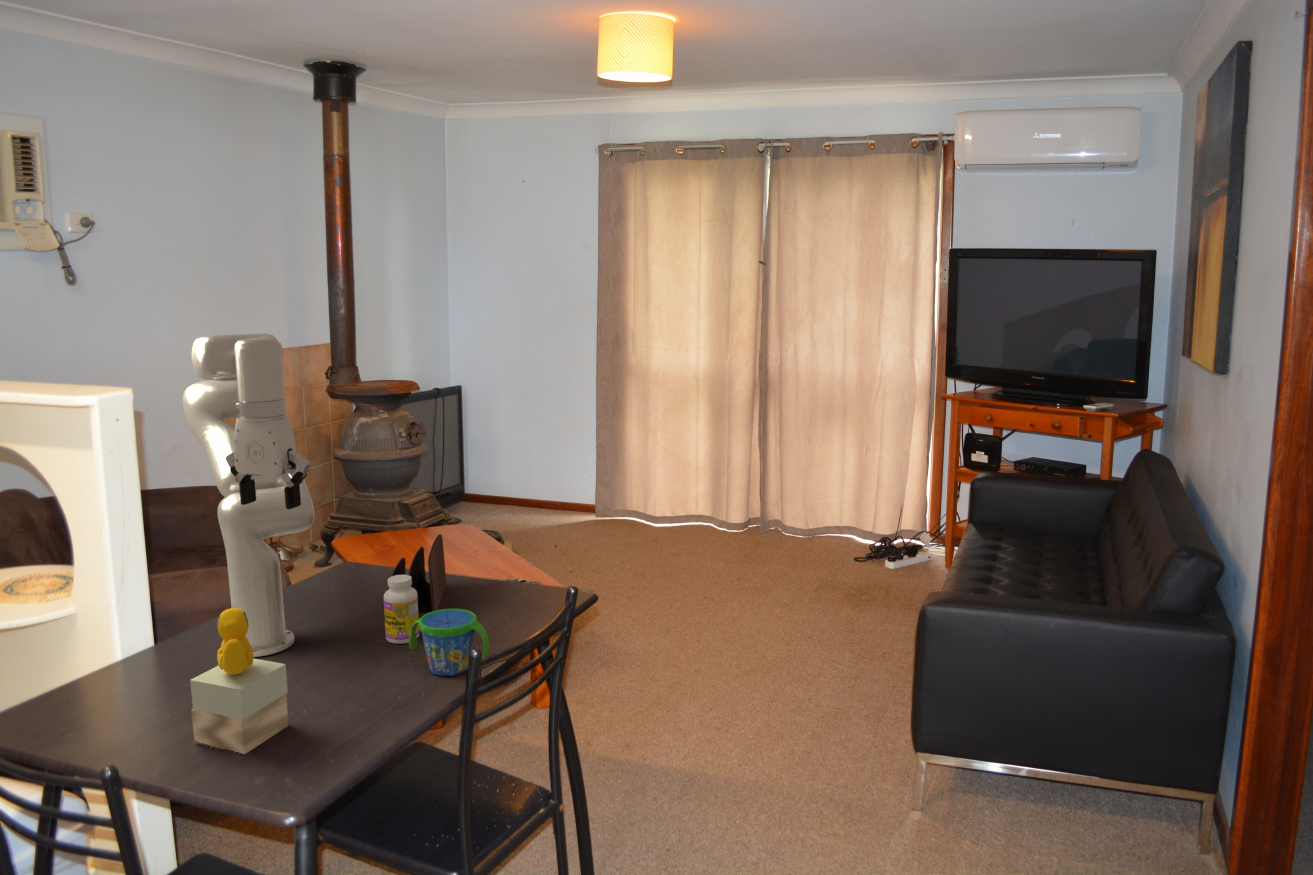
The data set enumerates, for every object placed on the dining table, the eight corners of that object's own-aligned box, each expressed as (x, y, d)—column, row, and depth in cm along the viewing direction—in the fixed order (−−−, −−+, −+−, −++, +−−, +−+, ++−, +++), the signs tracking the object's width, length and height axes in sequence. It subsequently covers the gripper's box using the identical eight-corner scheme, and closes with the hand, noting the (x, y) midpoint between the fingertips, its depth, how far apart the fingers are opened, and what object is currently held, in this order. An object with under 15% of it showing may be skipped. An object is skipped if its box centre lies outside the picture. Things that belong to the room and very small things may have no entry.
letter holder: (446, 587, 228) (443, 529, 225) (435, 618, 208) (432, 555, 206) (403, 588, 227) (400, 530, 224) (388, 619, 208) (384, 556, 205)
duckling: (219, 660, 160) (214, 602, 159) (254, 655, 162) (250, 598, 161) (216, 685, 150) (211, 623, 149) (254, 679, 152) (249, 618, 151)
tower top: (193, 709, 154) (190, 679, 153) (240, 683, 163) (237, 655, 162) (242, 719, 150) (239, 689, 149) (287, 692, 160) (285, 663, 159)
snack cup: (500, 664, 184) (499, 613, 182) (471, 687, 174) (468, 633, 173) (431, 652, 190) (428, 603, 188) (398, 674, 180) (395, 622, 178)
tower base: (194, 744, 155) (191, 709, 154) (240, 716, 164) (237, 683, 163) (244, 754, 152) (241, 719, 150) (288, 725, 161) (285, 692, 160)
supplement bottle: (379, 642, 195) (375, 581, 193) (399, 630, 201) (395, 571, 199) (406, 646, 193) (403, 585, 190) (426, 635, 199) (423, 575, 196)
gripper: (207, 410, 167) (216, 506, 171) (289, 415, 162) (296, 514, 165) (238, 404, 174) (246, 496, 178) (318, 408, 169) (325, 503, 172)
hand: (270, 505), depth 171 cm, fingers open, 9 cm apart
